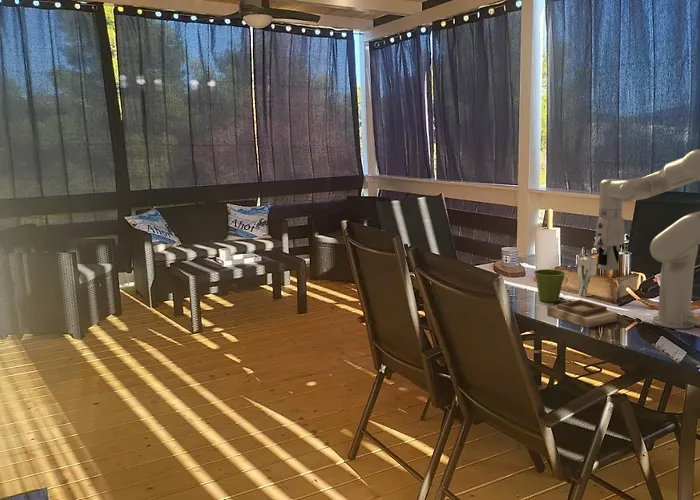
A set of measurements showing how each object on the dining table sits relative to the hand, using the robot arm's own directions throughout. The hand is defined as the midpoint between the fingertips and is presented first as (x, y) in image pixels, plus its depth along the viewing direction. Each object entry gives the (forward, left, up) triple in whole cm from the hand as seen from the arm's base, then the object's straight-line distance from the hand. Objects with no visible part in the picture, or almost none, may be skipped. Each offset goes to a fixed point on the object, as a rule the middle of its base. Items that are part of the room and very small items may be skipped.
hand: (608, 263), depth 221 cm
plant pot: (+20, +8, -17) cm, 28 cm away
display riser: (-3, +16, -17) cm, 24 cm away
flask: (0, 0, -2) cm, 2 cm away
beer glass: (+18, -10, -17) cm, 27 cm away
